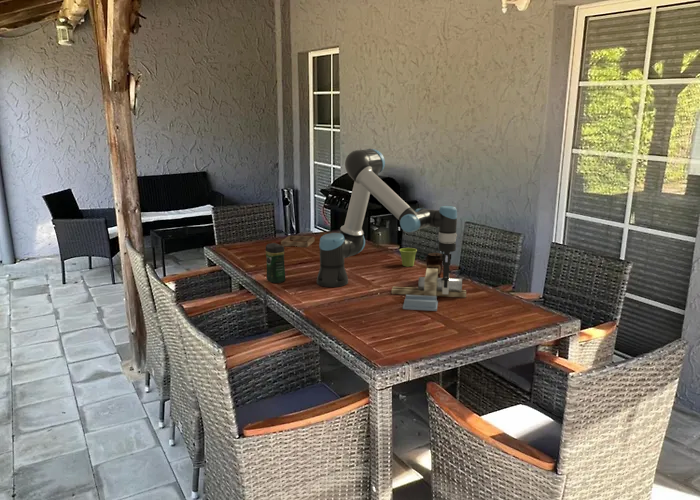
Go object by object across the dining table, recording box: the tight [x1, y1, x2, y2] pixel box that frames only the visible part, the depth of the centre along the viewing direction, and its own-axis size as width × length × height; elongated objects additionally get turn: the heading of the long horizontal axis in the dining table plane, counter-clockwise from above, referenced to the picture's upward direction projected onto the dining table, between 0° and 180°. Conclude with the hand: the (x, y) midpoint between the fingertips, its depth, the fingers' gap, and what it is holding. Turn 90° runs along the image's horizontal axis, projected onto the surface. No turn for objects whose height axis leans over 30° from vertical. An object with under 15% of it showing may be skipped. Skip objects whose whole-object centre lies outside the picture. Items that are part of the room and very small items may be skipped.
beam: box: [391, 267, 467, 298], centre depth 251 cm, size 33×18×10 cm, turn 79°
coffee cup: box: [425, 252, 443, 278], centre depth 272 cm, size 9×8×13 cm
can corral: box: [280, 235, 315, 248], centre depth 353 cm, size 17×17×3 cm
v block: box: [402, 294, 439, 312], centre depth 235 cm, size 14×10×4 cm
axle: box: [417, 276, 463, 292], centre depth 250 cm, size 19×6×6 cm, turn 79°
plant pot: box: [399, 247, 418, 268], centre depth 299 cm, size 9×9×9 cm
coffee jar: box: [265, 242, 286, 284], centre depth 272 cm, size 10×8×19 cm
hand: (445, 290), depth 250 cm, fingers open, 9 cm apart
